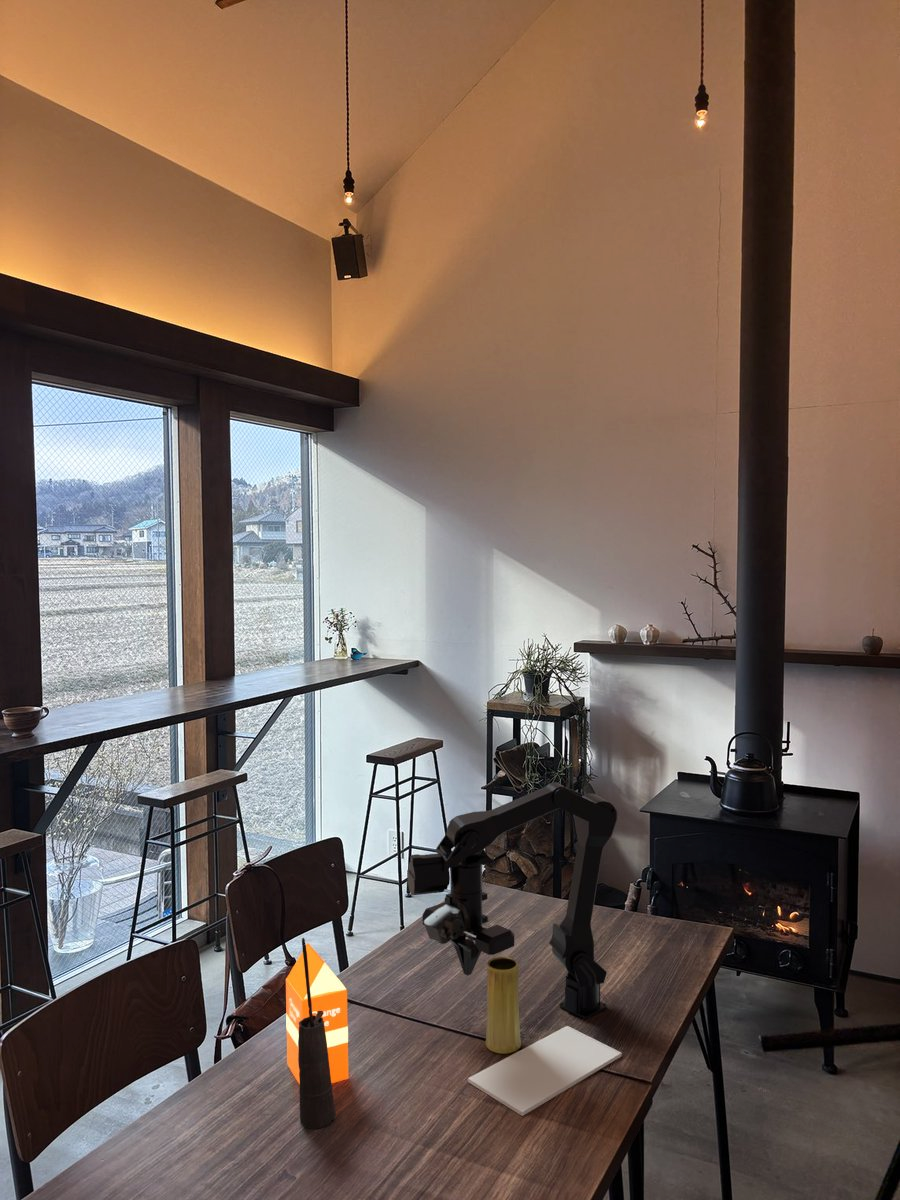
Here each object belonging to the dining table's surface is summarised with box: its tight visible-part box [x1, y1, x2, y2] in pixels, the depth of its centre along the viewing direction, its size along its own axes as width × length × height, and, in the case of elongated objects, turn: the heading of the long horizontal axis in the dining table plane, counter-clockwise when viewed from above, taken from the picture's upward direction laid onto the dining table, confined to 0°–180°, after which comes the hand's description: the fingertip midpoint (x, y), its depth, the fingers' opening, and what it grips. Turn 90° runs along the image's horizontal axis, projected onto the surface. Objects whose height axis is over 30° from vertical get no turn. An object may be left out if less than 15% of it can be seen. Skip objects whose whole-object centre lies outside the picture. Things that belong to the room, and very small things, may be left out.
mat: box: [467, 1025, 623, 1117], centre depth 145 cm, size 24×12×1 cm, turn 132°
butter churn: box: [298, 937, 336, 1130], centre depth 134 cm, size 9×10×28 cm
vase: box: [485, 956, 522, 1055], centre depth 153 cm, size 6×6×14 cm
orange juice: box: [285, 942, 349, 1085], centre depth 145 cm, size 8×9×20 cm
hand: (467, 974), depth 159 cm, fingers closed
